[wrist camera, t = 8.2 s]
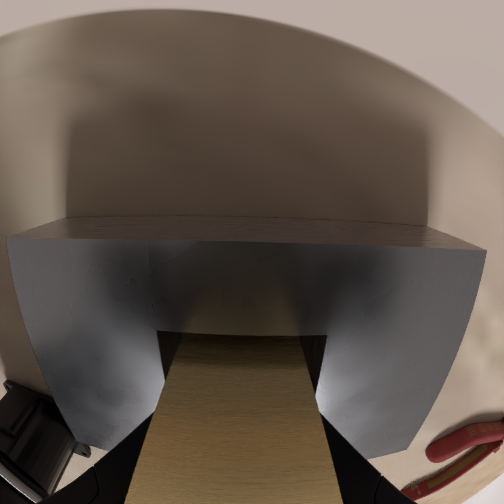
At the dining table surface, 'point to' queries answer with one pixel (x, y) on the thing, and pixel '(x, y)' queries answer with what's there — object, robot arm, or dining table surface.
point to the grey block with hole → (245, 312)
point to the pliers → (451, 445)
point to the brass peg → (236, 428)
